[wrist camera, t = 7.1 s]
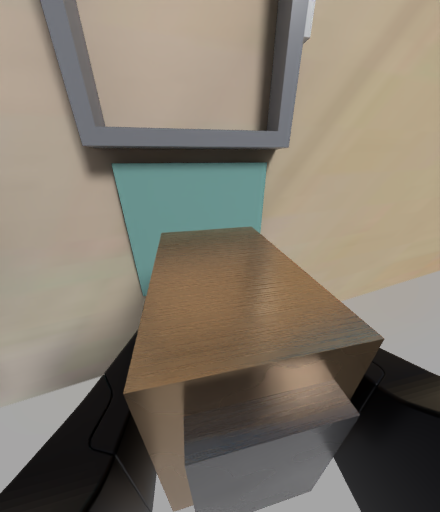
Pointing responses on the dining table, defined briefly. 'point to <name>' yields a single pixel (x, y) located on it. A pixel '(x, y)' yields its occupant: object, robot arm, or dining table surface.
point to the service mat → (185, 202)
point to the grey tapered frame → (98, 136)
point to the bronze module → (242, 371)
